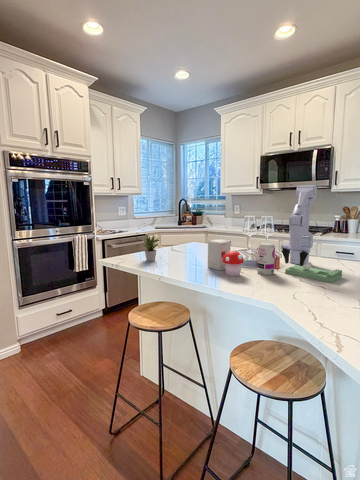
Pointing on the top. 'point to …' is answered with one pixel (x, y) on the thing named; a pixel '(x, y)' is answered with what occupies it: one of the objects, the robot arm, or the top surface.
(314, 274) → the green holed board
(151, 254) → the house plant
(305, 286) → the top surface
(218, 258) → the supplement box
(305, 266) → the ball
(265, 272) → the supplement can
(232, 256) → the mushroom
